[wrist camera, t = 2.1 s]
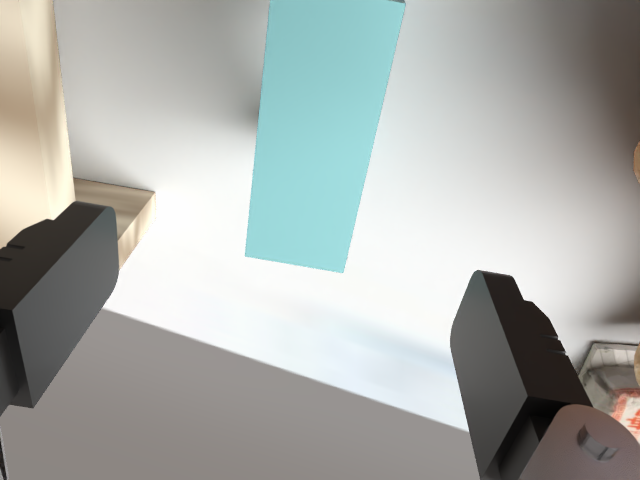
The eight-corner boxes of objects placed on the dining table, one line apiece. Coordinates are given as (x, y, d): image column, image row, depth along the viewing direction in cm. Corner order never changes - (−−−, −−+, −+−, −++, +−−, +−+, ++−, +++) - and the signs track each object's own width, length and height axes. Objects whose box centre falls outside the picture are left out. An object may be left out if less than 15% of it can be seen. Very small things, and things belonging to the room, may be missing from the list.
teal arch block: (308, -43, 25) (272, -22, 15) (386, -28, 25) (405, 3, 15) (284, 142, 31) (244, 256, 20) (348, 154, 31) (343, 273, 20)
